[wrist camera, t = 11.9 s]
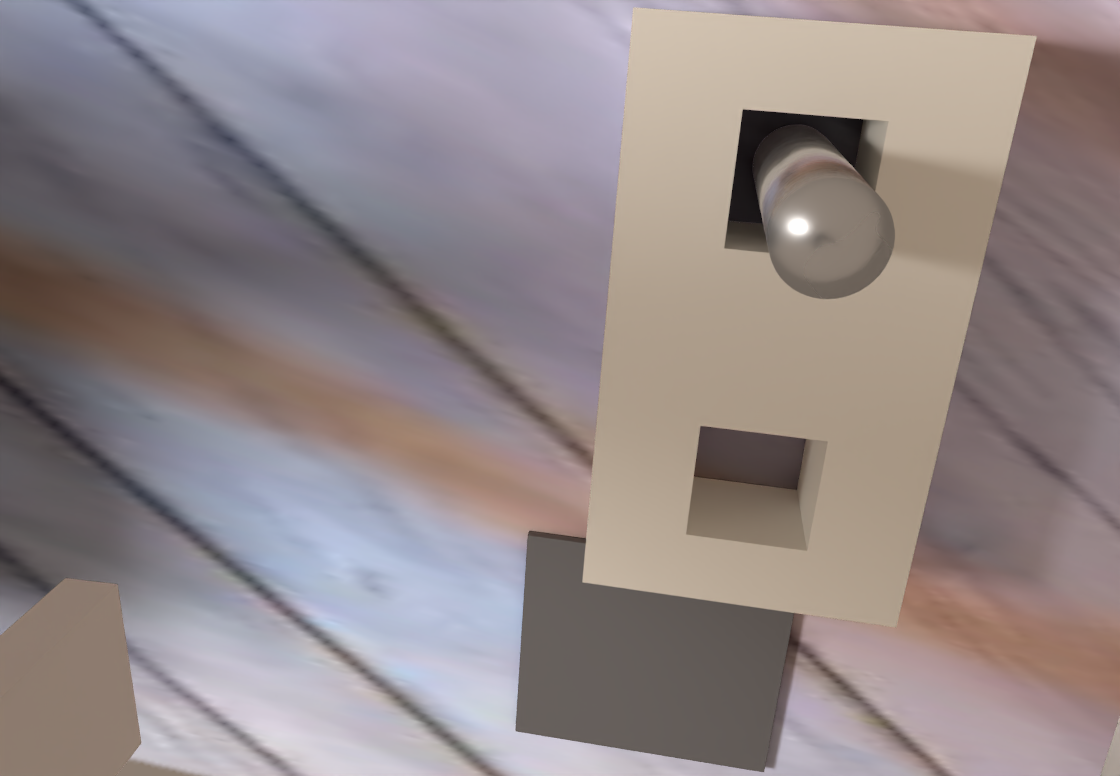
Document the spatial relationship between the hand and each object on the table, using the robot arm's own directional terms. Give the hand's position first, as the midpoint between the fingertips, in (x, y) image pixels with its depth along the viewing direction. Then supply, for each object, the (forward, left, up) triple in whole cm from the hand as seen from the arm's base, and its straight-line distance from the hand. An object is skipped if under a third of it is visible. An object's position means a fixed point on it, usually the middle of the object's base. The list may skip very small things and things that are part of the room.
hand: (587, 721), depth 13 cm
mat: (+1, -19, -27) cm, 32 cm away
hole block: (+4, -2, -27) cm, 27 cm away
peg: (+4, +4, -27) cm, 27 cm away
